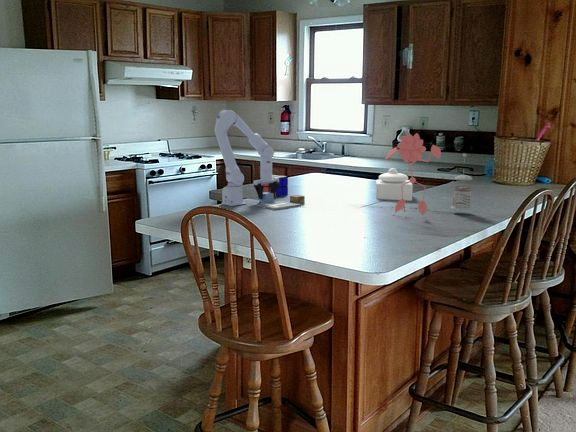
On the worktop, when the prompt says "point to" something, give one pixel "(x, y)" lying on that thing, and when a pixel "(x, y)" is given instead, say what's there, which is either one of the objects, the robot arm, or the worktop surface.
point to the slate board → (279, 205)
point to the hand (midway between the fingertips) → (266, 198)
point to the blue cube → (267, 197)
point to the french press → (462, 193)
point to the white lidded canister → (393, 186)
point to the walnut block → (297, 199)
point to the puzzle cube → (282, 187)
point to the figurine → (412, 151)
